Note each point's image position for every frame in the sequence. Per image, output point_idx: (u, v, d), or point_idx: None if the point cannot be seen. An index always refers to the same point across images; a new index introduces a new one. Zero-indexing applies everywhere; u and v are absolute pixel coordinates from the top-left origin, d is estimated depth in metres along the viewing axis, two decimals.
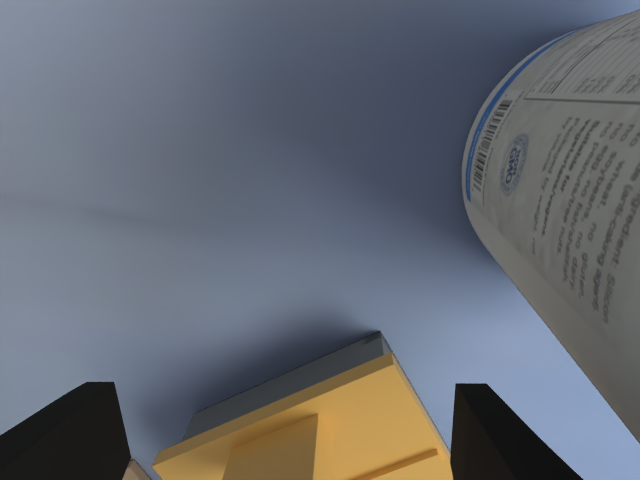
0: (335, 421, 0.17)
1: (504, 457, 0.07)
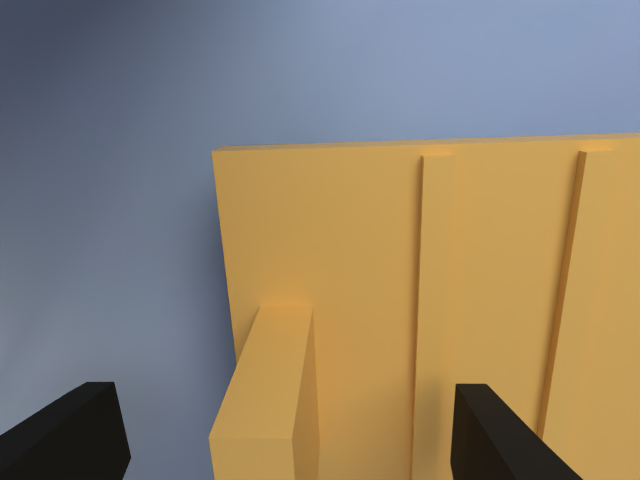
0: (286, 289, 0.10)
1: (504, 457, 0.07)
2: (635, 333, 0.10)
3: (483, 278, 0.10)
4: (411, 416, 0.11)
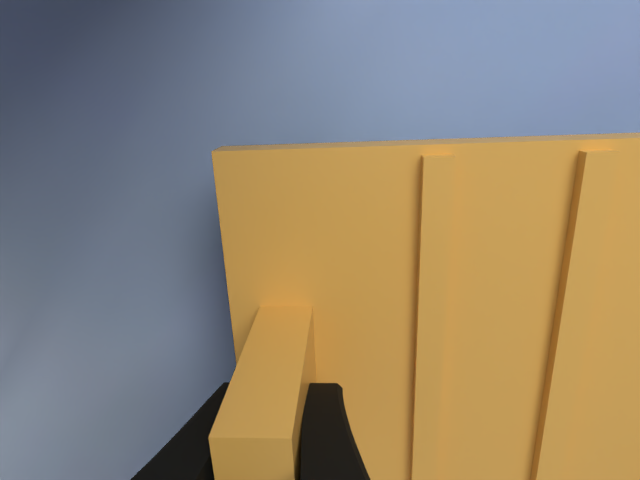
0: (286, 289, 0.10)
1: (302, 454, 0.07)
2: (635, 333, 0.10)
3: (483, 278, 0.10)
4: (411, 416, 0.11)
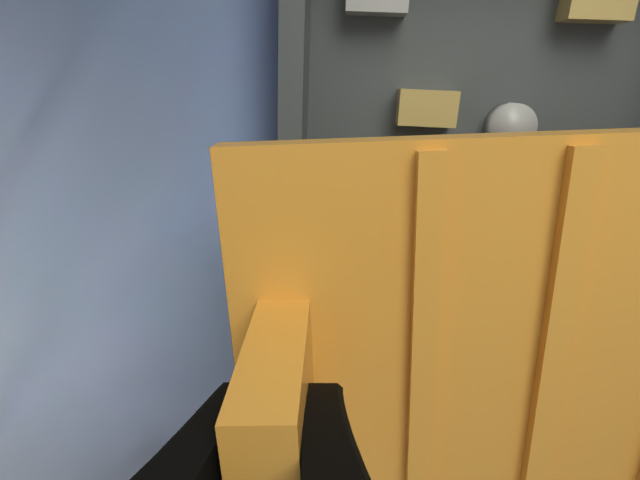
0: (283, 283, 0.10)
1: (302, 454, 0.07)
2: (621, 321, 0.10)
3: (476, 270, 0.10)
4: (406, 407, 0.11)
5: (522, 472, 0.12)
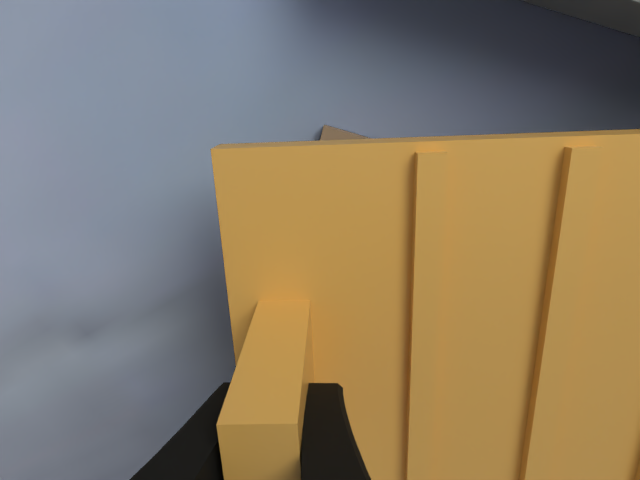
0: (284, 284, 0.10)
1: (302, 454, 0.07)
2: (619, 321, 0.10)
3: (475, 270, 0.10)
4: (406, 406, 0.11)
5: (521, 471, 0.12)
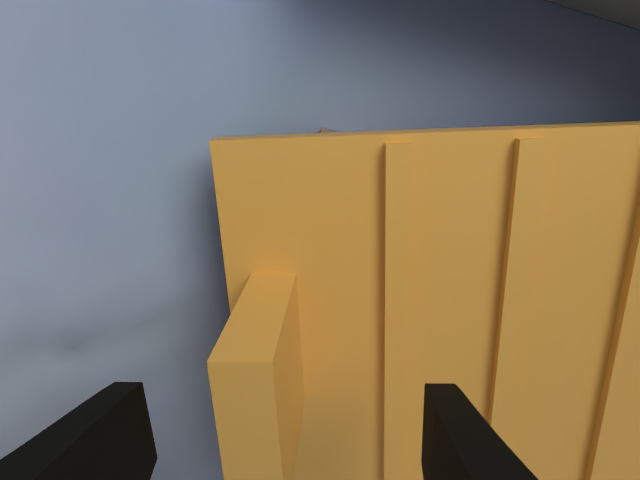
0: (273, 259, 0.12)
1: (461, 456, 0.07)
2: (570, 295, 0.12)
3: (440, 248, 0.11)
4: (382, 370, 0.13)
5: None
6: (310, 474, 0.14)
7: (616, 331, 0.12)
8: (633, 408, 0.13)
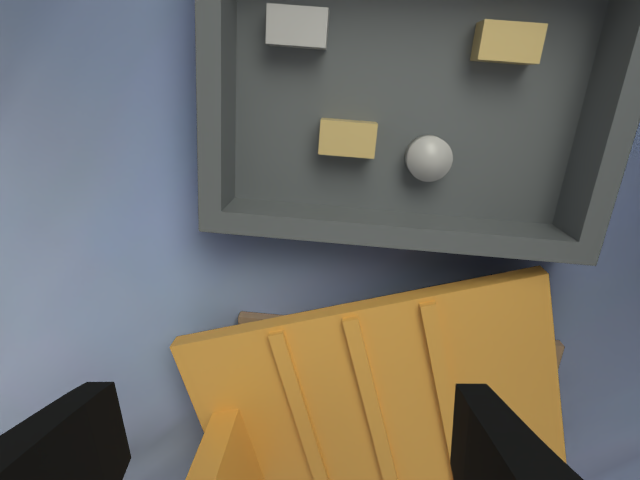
0: (223, 403, 0.19)
1: (504, 457, 0.07)
2: (406, 395, 0.19)
3: (319, 381, 0.19)
4: None
5: None
6: None
7: (440, 412, 0.19)
8: None
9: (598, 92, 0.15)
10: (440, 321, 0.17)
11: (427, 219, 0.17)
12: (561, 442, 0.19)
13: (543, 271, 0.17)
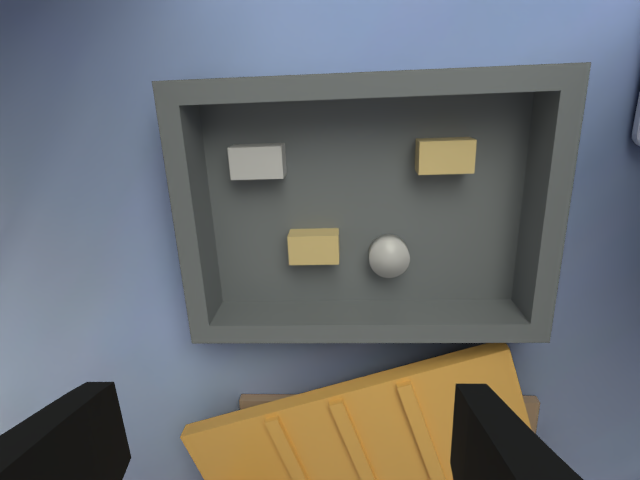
0: None
1: (504, 457, 0.07)
2: (397, 461, 0.20)
3: (316, 456, 0.20)
4: None
5: None
6: None
7: (429, 475, 0.20)
8: None
9: (532, 190, 0.17)
10: (417, 397, 0.19)
11: (394, 309, 0.18)
12: None
13: (505, 346, 0.18)
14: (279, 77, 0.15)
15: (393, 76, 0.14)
